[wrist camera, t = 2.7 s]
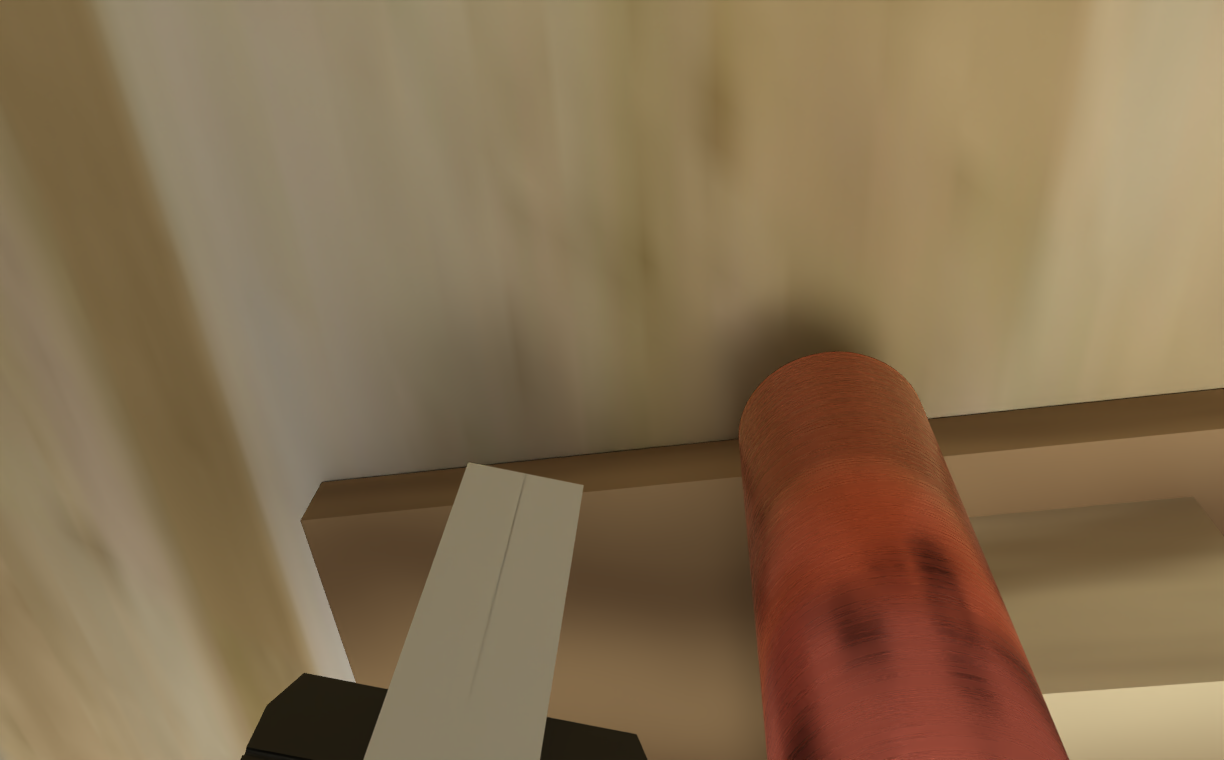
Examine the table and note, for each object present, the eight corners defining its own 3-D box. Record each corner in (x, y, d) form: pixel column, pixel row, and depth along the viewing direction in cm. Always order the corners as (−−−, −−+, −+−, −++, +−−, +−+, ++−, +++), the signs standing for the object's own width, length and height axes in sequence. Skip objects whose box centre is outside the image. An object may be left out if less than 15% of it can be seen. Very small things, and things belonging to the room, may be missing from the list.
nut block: (934, 520, 22) (997, 697, 17) (1193, 496, 21) (1329, 673, 17) (938, 705, 24) (997, 903, 19) (1173, 688, 23) (1288, 889, 19)
